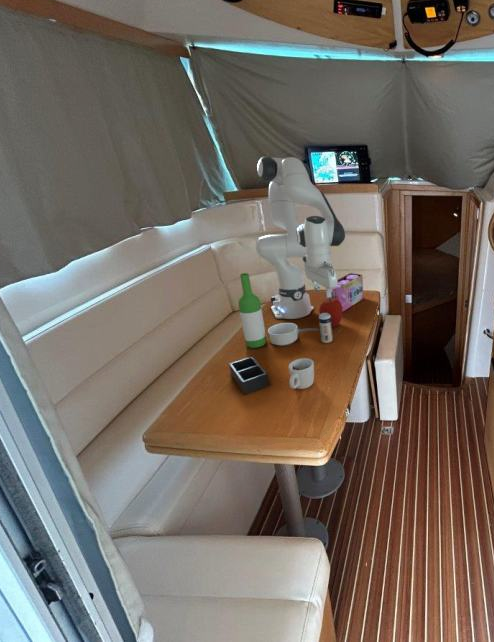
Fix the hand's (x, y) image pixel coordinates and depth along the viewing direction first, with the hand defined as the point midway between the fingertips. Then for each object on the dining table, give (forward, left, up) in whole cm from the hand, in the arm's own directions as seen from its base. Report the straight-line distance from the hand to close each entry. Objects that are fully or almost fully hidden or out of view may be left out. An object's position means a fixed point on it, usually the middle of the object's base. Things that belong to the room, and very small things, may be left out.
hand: (322, 293), depth 143 cm
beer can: (0, 0, -21) cm, 21 cm away
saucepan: (-9, -10, -21) cm, 25 cm away
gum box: (-30, +27, -21) cm, 46 cm away
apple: (-12, +9, -21) cm, 26 cm away
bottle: (-16, -23, -21) cm, 35 cm away
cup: (+24, -22, -21) cm, 39 cm away
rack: (+8, -33, -21) cm, 40 cm away
